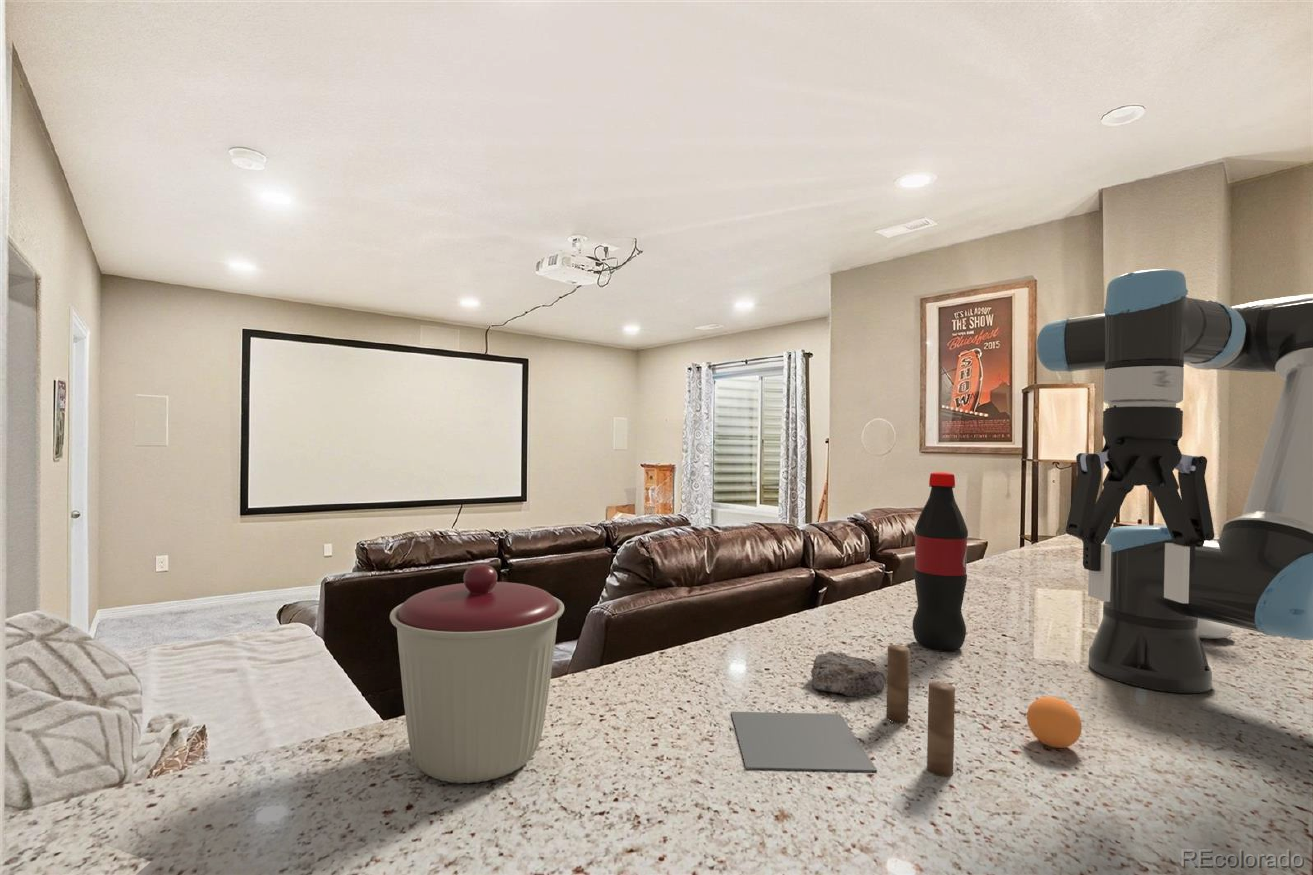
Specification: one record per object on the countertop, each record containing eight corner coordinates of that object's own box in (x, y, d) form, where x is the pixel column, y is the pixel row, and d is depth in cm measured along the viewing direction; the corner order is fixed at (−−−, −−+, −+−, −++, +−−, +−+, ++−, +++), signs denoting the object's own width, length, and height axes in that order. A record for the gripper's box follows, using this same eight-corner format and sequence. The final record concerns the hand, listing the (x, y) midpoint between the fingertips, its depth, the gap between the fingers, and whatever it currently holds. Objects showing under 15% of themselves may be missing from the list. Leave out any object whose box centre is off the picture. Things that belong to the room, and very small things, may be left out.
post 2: (946, 764, 72) (948, 682, 72) (957, 776, 69) (959, 691, 69) (922, 763, 72) (924, 681, 72) (933, 776, 69) (934, 691, 69)
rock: (893, 691, 93) (893, 663, 93) (832, 703, 88) (833, 673, 88) (850, 671, 101) (850, 644, 101) (792, 681, 96) (793, 653, 96)
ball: (1062, 735, 79) (1063, 689, 79) (1092, 757, 74) (1093, 708, 74) (1016, 734, 79) (1017, 688, 79) (1043, 756, 74) (1044, 707, 74)
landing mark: (840, 715, 84) (840, 713, 84) (877, 771, 70) (877, 770, 70) (731, 713, 84) (731, 711, 84) (745, 769, 70) (746, 767, 70)
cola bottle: (968, 644, 114) (972, 472, 114) (961, 658, 107) (965, 474, 107) (917, 635, 118) (920, 470, 118) (907, 648, 111) (911, 472, 111)
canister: (500, 824, 59) (505, 591, 59) (346, 783, 65) (350, 573, 65) (589, 738, 76) (592, 557, 76) (460, 712, 82) (463, 545, 82)
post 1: (903, 714, 84) (904, 645, 84) (911, 723, 82) (912, 651, 82) (883, 714, 84) (884, 644, 84) (890, 723, 82) (892, 651, 82)
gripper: (1071, 402, 73) (1067, 606, 73) (1262, 406, 73) (1257, 610, 73) (1033, 405, 80) (1028, 590, 80) (1205, 409, 80) (1201, 593, 80)
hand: (1137, 599), depth 76 cm, fingers open, 8 cm apart
